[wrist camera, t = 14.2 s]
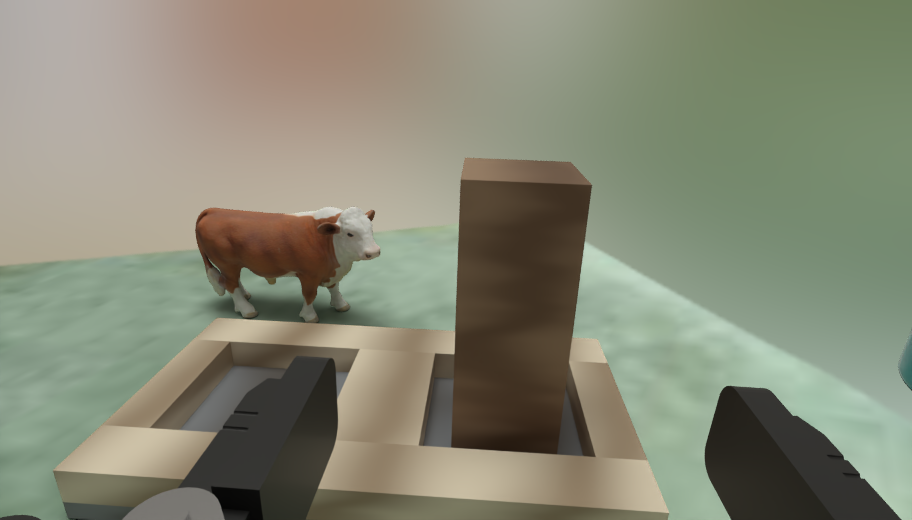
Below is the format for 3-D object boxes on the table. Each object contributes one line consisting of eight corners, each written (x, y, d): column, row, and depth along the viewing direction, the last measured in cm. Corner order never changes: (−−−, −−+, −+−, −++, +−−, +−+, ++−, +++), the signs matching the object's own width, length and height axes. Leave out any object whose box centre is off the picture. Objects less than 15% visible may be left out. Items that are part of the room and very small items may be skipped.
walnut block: (450, 455, 22) (460, 179, 18) (456, 393, 26) (465, 157, 22) (555, 462, 22) (591, 185, 17) (544, 398, 26) (570, 161, 22)
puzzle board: (68, 518, 19) (53, 470, 18) (221, 352, 30) (216, 317, 30) (657, 561, 18) (669, 512, 18) (592, 373, 30) (597, 339, 29)
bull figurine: (374, 342, 32) (370, 218, 29) (192, 312, 35) (173, 197, 32) (398, 312, 36) (397, 200, 33) (233, 288, 39) (219, 183, 36)
